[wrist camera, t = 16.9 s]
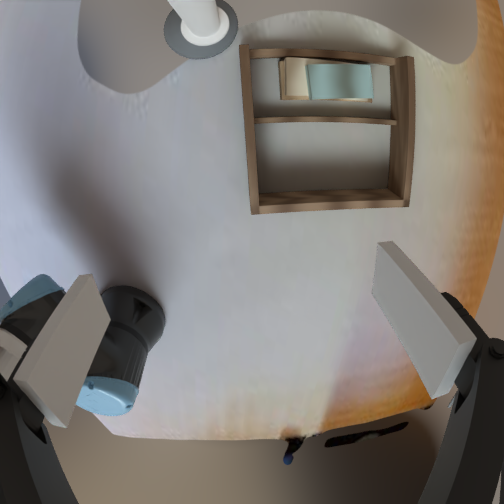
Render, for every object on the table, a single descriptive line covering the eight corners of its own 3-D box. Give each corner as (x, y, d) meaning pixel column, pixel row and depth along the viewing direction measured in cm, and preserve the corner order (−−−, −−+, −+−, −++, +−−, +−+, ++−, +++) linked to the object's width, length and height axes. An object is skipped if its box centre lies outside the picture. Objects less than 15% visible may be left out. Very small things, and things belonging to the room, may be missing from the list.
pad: (166, 64, 37) (165, 63, 37) (163, 3, 32) (162, 2, 32) (240, 55, 37) (240, 54, 37) (235, -7, 32) (235, -8, 32)
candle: (234, 39, 36) (230, -21, 14) (186, 51, 36) (132, 7, 14) (223, 1, 32) (211, -84, 10) (177, 12, 33) (120, -56, 11)
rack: (249, 201, 48) (251, 214, 43) (239, 52, 37) (239, 45, 32) (392, 195, 49) (408, 206, 43) (395, 60, 37) (413, 57, 32)
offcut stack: (280, 100, 41) (286, 99, 36) (278, 60, 38) (283, 55, 33) (367, 102, 41) (383, 103, 36) (365, 65, 38) (381, 61, 33)
